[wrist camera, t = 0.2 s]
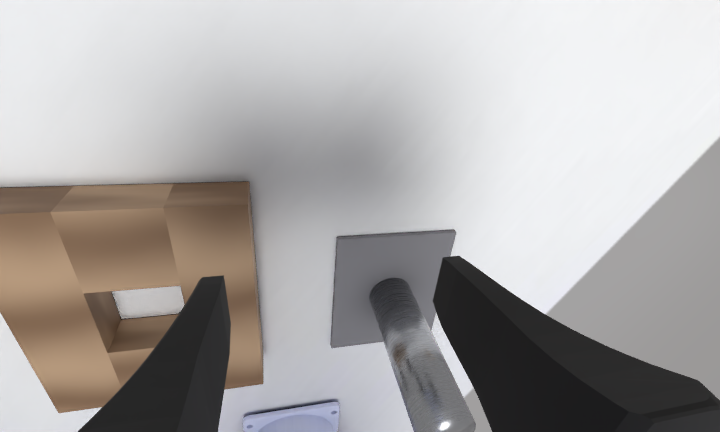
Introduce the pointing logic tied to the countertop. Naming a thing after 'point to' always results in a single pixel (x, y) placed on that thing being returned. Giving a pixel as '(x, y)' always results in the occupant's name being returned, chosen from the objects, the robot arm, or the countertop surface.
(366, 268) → the rubber mat
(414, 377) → the steel peg
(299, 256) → the countertop surface
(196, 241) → the walnut hole block
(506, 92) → the countertop surface
